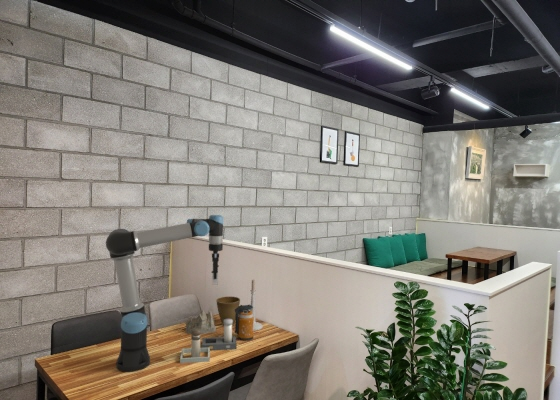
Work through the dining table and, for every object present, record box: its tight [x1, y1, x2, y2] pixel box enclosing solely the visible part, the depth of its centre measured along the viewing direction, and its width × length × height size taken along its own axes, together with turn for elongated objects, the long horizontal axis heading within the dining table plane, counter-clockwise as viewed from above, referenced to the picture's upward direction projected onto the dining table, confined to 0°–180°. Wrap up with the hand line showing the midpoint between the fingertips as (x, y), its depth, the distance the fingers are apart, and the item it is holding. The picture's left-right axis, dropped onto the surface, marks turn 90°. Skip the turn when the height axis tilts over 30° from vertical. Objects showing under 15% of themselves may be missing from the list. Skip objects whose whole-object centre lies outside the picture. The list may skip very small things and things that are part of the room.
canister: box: [233, 304, 254, 342], centre depth 216 cm, size 9×11×20 cm
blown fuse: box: [190, 328, 202, 358], centre depth 190 cm, size 5×5×14 cm
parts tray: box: [179, 347, 211, 365], centre depth 190 cm, size 14×12×3 cm
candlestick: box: [250, 279, 263, 332], centre depth 237 cm, size 13×13×30 cm
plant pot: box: [216, 296, 241, 327], centre depth 241 cm, size 15×15×16 cm
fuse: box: [223, 319, 233, 342], centre depth 205 cm, size 5×5×14 cm
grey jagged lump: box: [184, 309, 217, 335], centre depth 229 cm, size 16×16×15 cm
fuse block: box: [201, 336, 238, 351], centre depth 204 cm, size 18×10×4 cm, turn 100°
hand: (214, 281), depth 208 cm, fingers open, 13 cm apart
